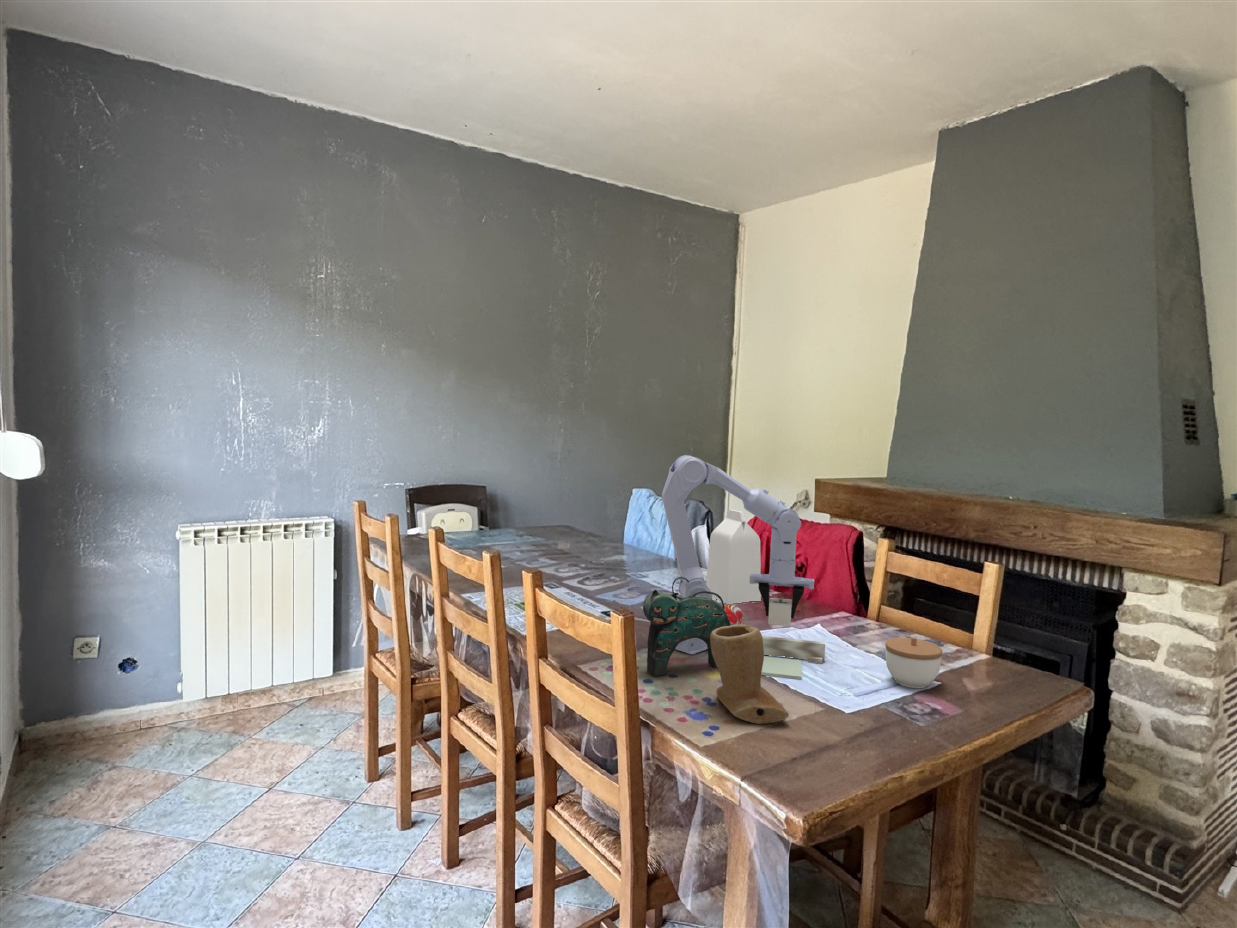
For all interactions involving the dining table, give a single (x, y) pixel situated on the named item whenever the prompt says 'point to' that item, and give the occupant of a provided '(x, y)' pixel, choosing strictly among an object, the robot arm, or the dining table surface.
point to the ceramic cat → (679, 624)
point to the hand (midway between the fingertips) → (779, 616)
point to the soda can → (734, 615)
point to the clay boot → (743, 674)
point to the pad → (782, 667)
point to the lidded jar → (913, 661)
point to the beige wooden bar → (794, 648)
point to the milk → (734, 560)
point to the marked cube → (780, 612)
